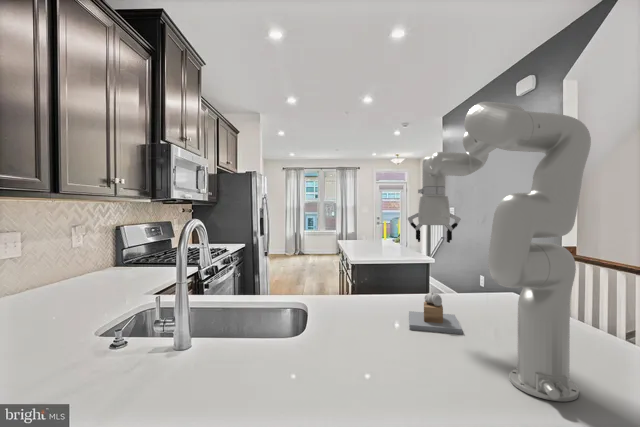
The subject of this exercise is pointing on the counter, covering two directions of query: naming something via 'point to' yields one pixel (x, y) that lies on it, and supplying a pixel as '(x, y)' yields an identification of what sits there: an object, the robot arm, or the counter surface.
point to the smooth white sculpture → (433, 299)
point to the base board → (447, 326)
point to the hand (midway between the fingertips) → (433, 242)
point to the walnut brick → (433, 313)
